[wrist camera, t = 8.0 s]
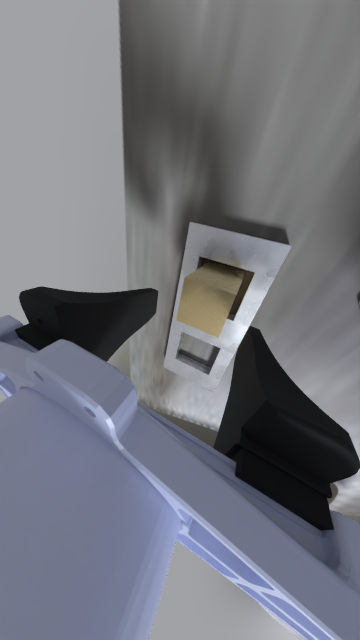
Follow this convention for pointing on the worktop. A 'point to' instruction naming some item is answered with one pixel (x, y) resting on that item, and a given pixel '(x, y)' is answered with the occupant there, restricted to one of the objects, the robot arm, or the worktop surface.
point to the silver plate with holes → (244, 255)
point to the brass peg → (209, 297)
